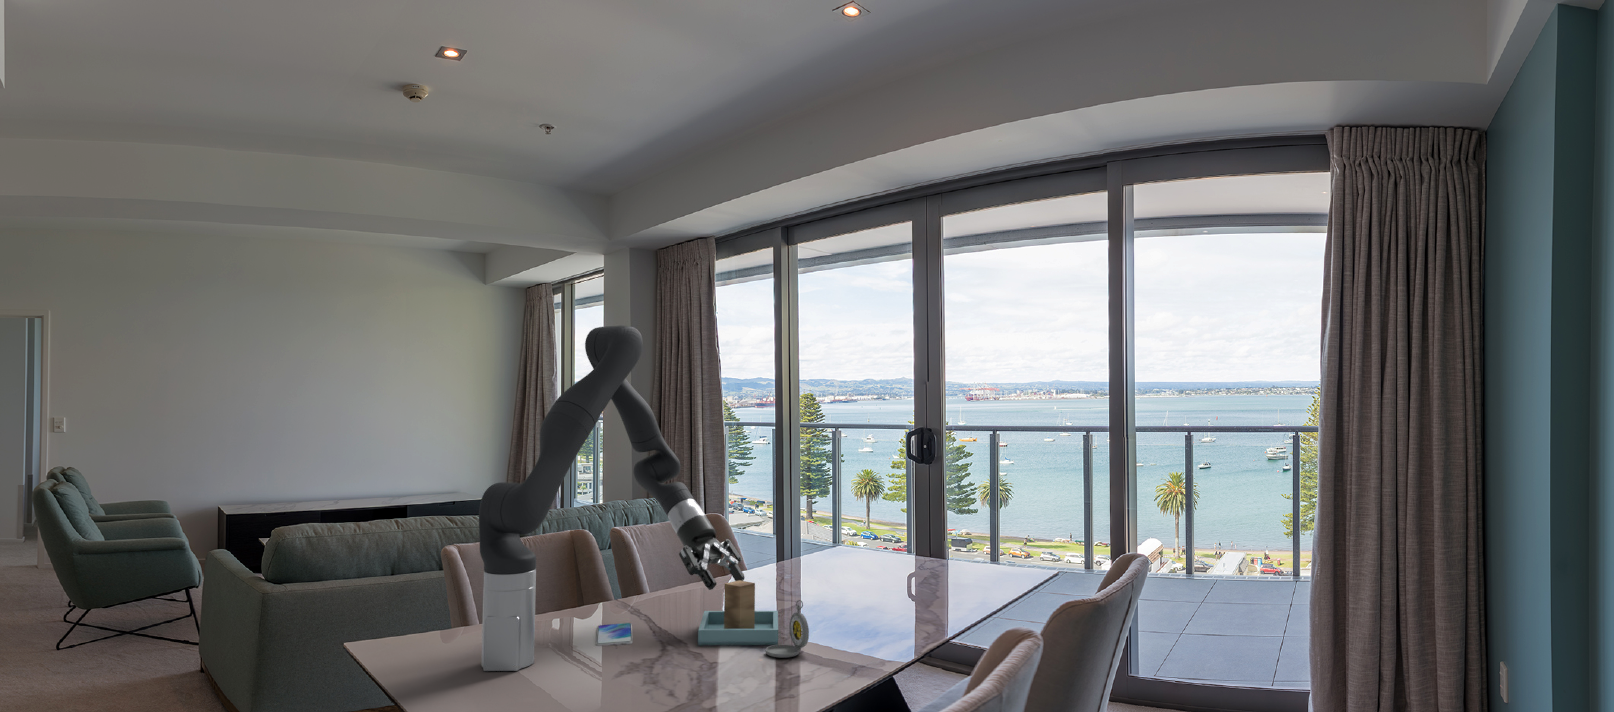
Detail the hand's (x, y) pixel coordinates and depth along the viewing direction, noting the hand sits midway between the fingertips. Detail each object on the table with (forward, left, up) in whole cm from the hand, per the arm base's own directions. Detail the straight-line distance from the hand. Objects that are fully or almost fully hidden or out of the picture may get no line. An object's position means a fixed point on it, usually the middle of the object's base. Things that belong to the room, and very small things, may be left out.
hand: (727, 584), depth 186 cm
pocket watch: (-16, -13, -10) cm, 23 cm away
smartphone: (-2, +23, -11) cm, 26 cm away
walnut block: (-2, -3, -9) cm, 10 cm away
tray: (-2, -3, -10) cm, 11 cm away
